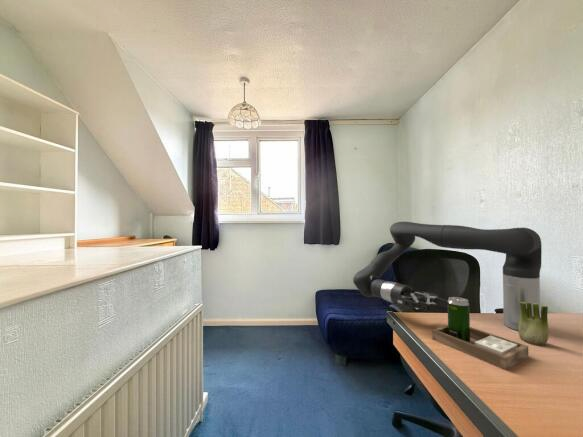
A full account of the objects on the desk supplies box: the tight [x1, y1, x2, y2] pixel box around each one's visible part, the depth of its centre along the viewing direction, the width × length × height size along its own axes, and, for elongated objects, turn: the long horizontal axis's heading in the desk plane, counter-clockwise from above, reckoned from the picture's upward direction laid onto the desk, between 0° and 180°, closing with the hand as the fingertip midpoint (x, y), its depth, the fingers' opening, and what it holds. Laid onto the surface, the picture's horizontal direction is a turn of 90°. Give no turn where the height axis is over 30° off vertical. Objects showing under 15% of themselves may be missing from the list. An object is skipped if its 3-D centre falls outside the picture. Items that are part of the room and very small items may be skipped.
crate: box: [431, 324, 530, 371], centre depth 71 cm, size 12×18×4 cm, turn 28°
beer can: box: [447, 296, 471, 342], centre depth 75 cm, size 5×5×12 cm
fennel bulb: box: [518, 302, 550, 347], centre depth 74 cm, size 6×5×12 cm
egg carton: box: [475, 335, 517, 355], centre depth 67 cm, size 8×6×4 cm
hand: (439, 306), depth 80 cm, fingers open, 8 cm apart
